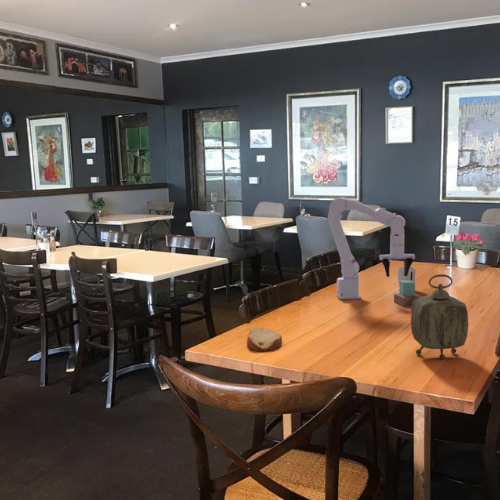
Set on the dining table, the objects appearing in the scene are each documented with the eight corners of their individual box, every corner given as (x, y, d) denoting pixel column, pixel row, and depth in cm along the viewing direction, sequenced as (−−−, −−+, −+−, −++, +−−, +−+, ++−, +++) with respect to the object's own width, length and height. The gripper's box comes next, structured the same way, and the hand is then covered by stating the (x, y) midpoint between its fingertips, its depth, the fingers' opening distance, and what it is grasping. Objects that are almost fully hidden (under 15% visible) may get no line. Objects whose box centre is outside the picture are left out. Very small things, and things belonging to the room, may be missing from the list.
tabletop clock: (457, 351, 169) (459, 271, 165) (470, 361, 160) (472, 276, 156) (410, 353, 168) (411, 272, 165) (420, 363, 159) (421, 278, 156)
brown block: (403, 307, 224) (403, 297, 224) (393, 303, 232) (394, 293, 231) (421, 305, 226) (421, 296, 225) (411, 301, 234) (411, 292, 233)
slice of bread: (258, 331, 197) (258, 321, 196) (299, 340, 185) (299, 329, 184) (223, 344, 183) (222, 333, 183) (265, 355, 172) (264, 343, 171)
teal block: (402, 296, 227) (402, 282, 226) (399, 293, 232) (399, 280, 231) (414, 295, 227) (415, 282, 226) (411, 293, 231) (411, 280, 231)
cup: (411, 292, 248) (411, 270, 247) (394, 290, 253) (394, 269, 251) (418, 289, 254) (418, 267, 253) (401, 287, 259) (401, 266, 258)
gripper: (382, 246, 228) (382, 278, 230) (417, 245, 228) (416, 277, 230) (378, 243, 235) (377, 275, 237) (412, 243, 235) (411, 274, 237)
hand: (396, 276), depth 234 cm, fingers open, 7 cm apart
